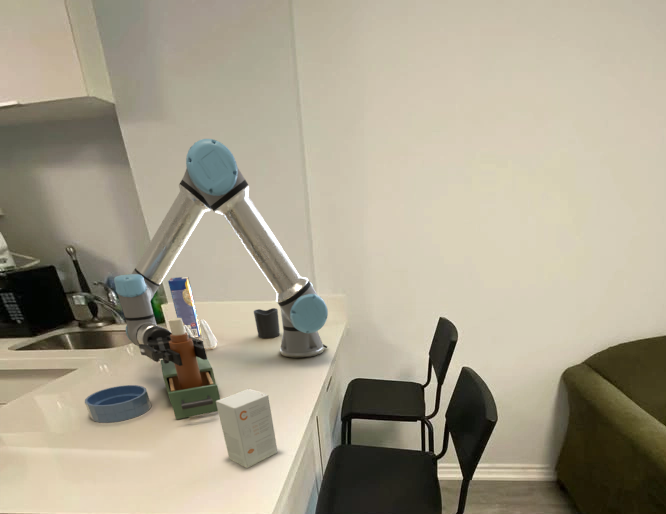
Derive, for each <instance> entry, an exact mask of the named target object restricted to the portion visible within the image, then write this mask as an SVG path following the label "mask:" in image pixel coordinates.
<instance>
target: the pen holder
mask: <svg viewBox="0 0 666 514" xmlns="http://www.w3.org/2000/svg"><path fill="white" fill-rule="evenodd" d="M278 310H279V309H278V308H274V307H273V308H269V309H266V310H264V309H261V308H260V309H254V310H253V315H254V321H255V325H256V331H257V335H258V337H259V338H261V339H273V338H277V337H279V336H280V334H281V333H280V331H281V330H280V321H279V311H278Z"/></svg>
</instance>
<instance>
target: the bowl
mask: <svg viewBox="0 0 666 514" xmlns="http://www.w3.org/2000/svg"><path fill="white" fill-rule="evenodd" d="M84 405H85V407H86V409H87V412H88V415H89V417H90V419H91V420H92V421H93V422H97V423H103V424H104V423H105V424H107V423H118V422H124V421H129V420H131V419H135V418H137V417H139V416H141V415H144V414H146V413H147V412H148V411H150V410H151V408H152V403H151V400H150V396H149V393H148V390H147V387H145V386H144V385H137V384H125V385H117V386H112V387H107V388H103V389H101V390H98V391H95V392H93V393H91V394H89V395H88V396H87V397H86V398H85V399H84Z"/></svg>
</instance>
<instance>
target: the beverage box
mask: <svg viewBox="0 0 666 514" xmlns="http://www.w3.org/2000/svg"><path fill="white" fill-rule="evenodd" d="M167 283H168V286H169V291H170V295H171V300H172V302H173V307H174V310H175V314H176V318H182V321H183V326H184V325H186V326H187V327H188V328H189V330H190V331H191V333H192V335H193V336H194V338H200V337H201V330H199V325H200V323H199V324H198V321H199V318H198V319H197V316H198V313H197V314H196V312H197V308H196V304H195V305H194V303H195V300H194V295H193V291H192V286H191V281H190V277H189V276H181V277H180V276H179V277H170V278H169V280H167ZM195 308H196V309H195ZM184 328H185V327H184Z"/></svg>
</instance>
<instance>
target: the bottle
mask: <svg viewBox="0 0 666 514" xmlns="http://www.w3.org/2000/svg"><path fill="white" fill-rule="evenodd" d="M168 324H169V329H170V332H171V333H172V334H171V335H170V337H171V340H170V341H169V346H170V349H171V350H173V351H175V352H177V353H179V354H180V357H181V361H182V364H183V365H182V366H179V365H177V364H175V363H174V365H175V368H176V372H177V376H178V380H179V384H180V387H181V390H184V389H189V388H195V387H201V386H203V383H202V379H201V375H200V370H199V366H198V362H197V358H196V353H195V349H194V345H193V341H192V339H191V338H189V337H188V333H186V332H185V330H184V326H183V321H182V318H177V317H173V318H172V317H171V318H169V319H168Z"/></svg>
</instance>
